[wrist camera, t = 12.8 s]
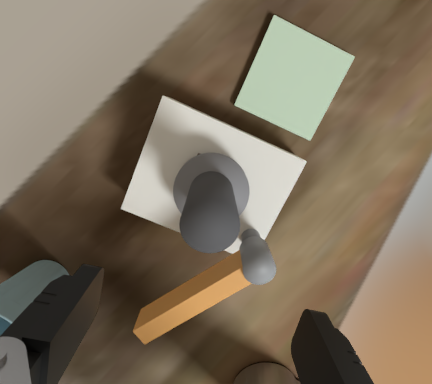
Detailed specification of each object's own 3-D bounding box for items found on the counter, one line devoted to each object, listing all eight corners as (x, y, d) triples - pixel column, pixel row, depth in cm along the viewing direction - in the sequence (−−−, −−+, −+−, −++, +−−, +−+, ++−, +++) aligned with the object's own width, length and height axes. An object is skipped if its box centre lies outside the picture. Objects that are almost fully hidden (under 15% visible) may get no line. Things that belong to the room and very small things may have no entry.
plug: (253, 160, 31) (282, 199, 18) (227, 214, 33) (235, 286, 20) (195, 135, 31) (180, 155, 17) (172, 191, 32) (141, 250, 19)
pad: (352, 57, 28) (355, 56, 28) (308, 140, 31) (310, 140, 30) (272, 16, 27) (274, 14, 27) (233, 105, 30) (234, 105, 29)
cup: (30, 240, 34) (-47, 295, 24) (89, 268, 35) (39, 332, 25) (9, 287, 36) (-69, 356, 26) (66, 312, 37) (12, 387, 27)
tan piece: (258, 231, 26) (265, 249, 23) (273, 253, 27) (282, 274, 24) (138, 303, 29) (128, 330, 25) (155, 322, 29) (147, 350, 26)
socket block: (295, 154, 31) (315, 166, 25) (248, 244, 34) (255, 274, 28) (169, 97, 29) (157, 94, 23) (131, 197, 33) (112, 217, 26)
